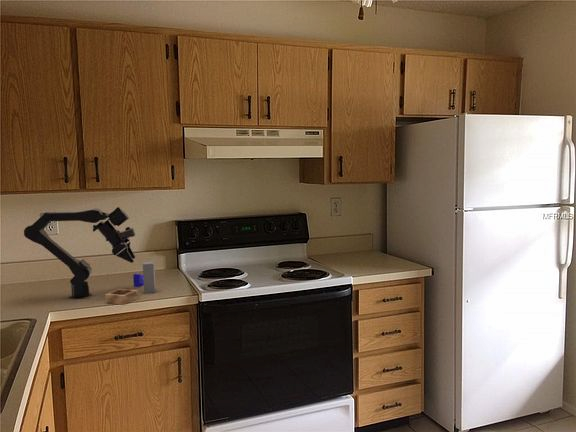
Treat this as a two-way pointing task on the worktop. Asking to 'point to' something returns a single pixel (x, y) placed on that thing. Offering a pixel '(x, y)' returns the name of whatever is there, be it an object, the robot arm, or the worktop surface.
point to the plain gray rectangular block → (149, 277)
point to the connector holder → (121, 296)
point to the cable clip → (138, 280)
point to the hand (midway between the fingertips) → (133, 260)
